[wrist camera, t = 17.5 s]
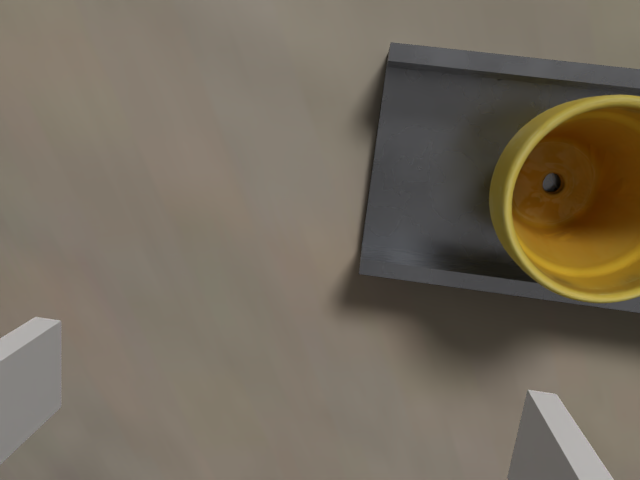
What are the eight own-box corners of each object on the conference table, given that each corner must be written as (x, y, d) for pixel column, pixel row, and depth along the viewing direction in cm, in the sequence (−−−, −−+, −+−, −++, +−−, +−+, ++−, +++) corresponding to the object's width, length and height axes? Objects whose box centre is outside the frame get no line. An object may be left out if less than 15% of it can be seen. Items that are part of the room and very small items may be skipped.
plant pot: (653, 118, 34) (761, 120, 24) (599, 270, 36) (678, 326, 27) (491, 84, 34) (537, 73, 25) (449, 237, 37) (476, 279, 27)
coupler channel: (703, 300, 37) (764, 335, 31) (360, 254, 39) (358, 278, 33) (766, 93, 34) (847, 89, 28) (388, 52, 35) (391, 40, 30)
